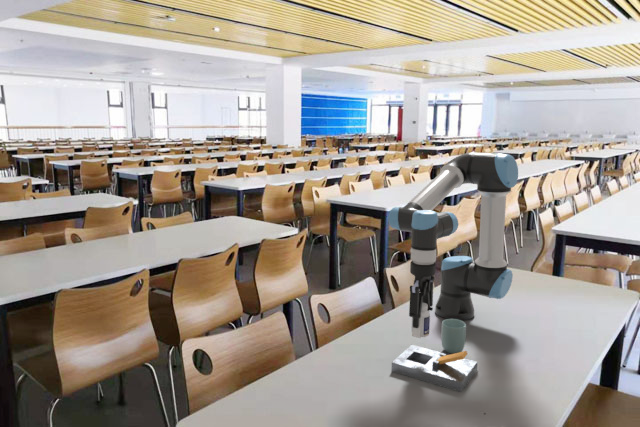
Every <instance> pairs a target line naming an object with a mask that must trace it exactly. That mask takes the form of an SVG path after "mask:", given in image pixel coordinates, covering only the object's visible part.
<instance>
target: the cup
mask: <svg viewBox="0 0 640 427" xmlns="http://www.w3.org/2000/svg"><path fill="white" fill-rule="evenodd" d="M440 334H441V338H440V339H441V345H442V348H443V351H445V352H446V353H447V354H455V353H459V352H463V351H464V348H465V344H466V338H467V323H466V322H464V320H458V319H446V318H445V319H444V320H442V322H441V330H440Z"/></svg>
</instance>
